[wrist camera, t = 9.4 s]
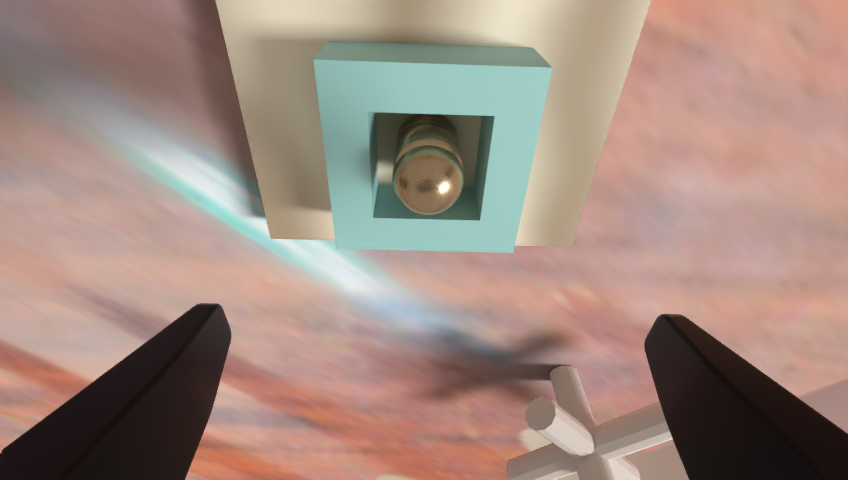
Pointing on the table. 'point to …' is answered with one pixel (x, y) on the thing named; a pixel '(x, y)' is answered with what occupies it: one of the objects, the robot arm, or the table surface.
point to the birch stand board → (441, 25)
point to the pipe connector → (584, 436)
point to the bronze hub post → (427, 164)
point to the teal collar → (429, 94)
